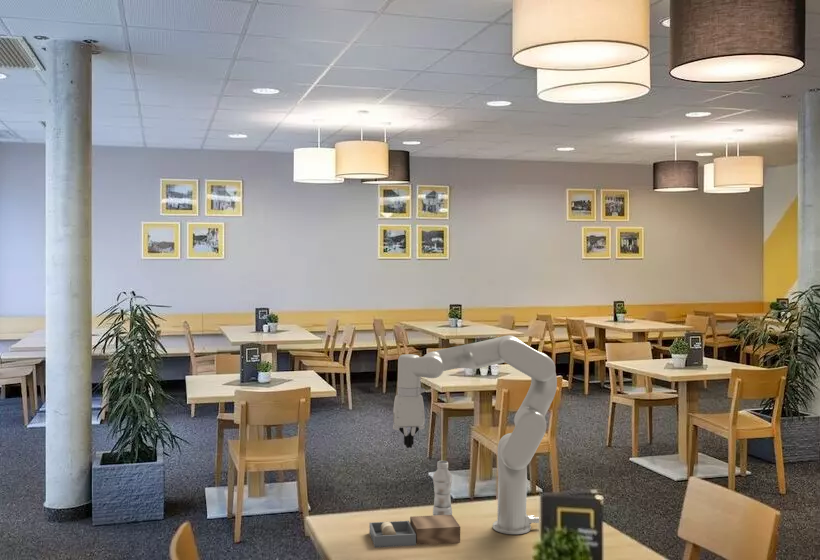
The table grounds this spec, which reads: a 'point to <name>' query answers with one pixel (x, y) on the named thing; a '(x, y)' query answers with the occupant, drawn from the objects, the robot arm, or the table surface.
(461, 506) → the table surface
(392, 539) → the box
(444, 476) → the plastic bottle
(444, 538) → the flat wooden case
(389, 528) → the maple roller
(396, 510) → the table surface
